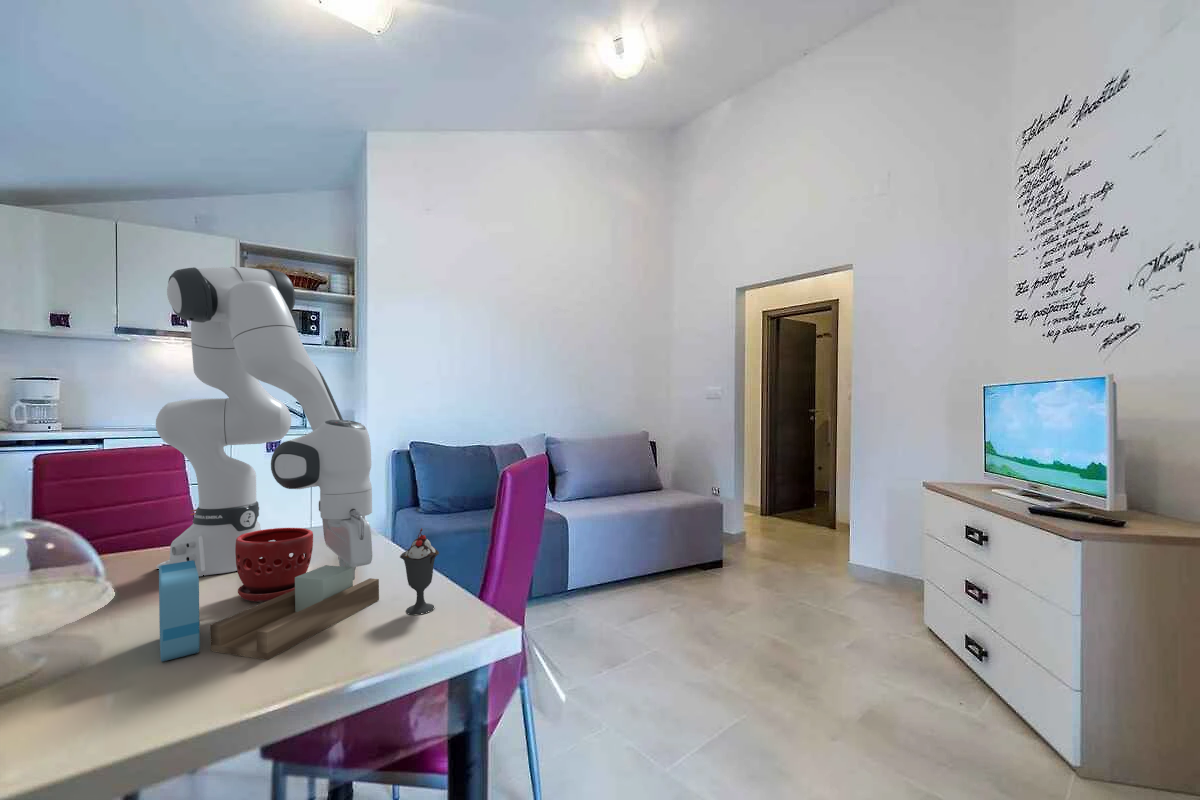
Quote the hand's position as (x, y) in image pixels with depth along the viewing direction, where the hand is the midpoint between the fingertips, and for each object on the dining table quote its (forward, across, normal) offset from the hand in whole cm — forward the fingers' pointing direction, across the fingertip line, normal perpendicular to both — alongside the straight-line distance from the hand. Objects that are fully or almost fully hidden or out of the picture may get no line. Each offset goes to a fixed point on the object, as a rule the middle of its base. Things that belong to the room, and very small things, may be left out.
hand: (347, 579), depth 100 cm
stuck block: (+3, -3, +5) cm, 6 cm away
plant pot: (+4, +14, +10) cm, 18 cm away
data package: (+4, -2, +25) cm, 26 cm away
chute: (+4, -6, +8) cm, 11 cm away
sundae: (+4, -13, -9) cm, 16 cm away
